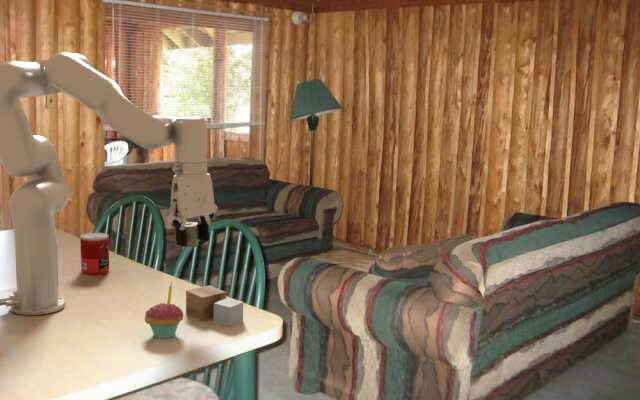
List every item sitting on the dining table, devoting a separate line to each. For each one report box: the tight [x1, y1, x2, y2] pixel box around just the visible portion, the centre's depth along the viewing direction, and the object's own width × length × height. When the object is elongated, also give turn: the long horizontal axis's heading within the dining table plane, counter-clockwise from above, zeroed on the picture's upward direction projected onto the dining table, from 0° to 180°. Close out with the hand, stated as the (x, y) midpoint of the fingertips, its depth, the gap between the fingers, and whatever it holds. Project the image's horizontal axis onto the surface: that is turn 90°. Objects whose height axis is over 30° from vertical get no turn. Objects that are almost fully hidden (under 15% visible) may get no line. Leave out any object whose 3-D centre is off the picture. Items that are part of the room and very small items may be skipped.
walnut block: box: [185, 285, 227, 322], centre depth 172 cm, size 7×7×6 cm
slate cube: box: [213, 297, 244, 328], centre depth 167 cm, size 5×5×5 cm
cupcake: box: [144, 281, 184, 339], centre depth 157 cm, size 9×8×12 cm
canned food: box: [79, 232, 110, 276], centre depth 204 cm, size 8×8×11 cm
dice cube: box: [174, 221, 200, 248], centre depth 168 cm, size 5×5×5 cm
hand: (192, 242), depth 168 cm, fingers closed on dice cube, 6 cm apart
